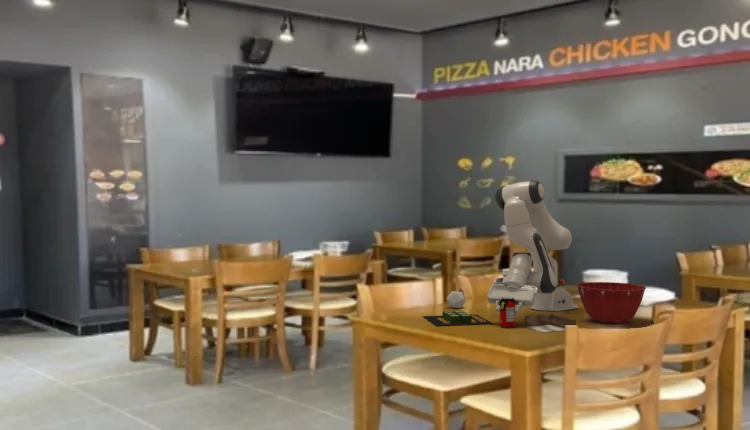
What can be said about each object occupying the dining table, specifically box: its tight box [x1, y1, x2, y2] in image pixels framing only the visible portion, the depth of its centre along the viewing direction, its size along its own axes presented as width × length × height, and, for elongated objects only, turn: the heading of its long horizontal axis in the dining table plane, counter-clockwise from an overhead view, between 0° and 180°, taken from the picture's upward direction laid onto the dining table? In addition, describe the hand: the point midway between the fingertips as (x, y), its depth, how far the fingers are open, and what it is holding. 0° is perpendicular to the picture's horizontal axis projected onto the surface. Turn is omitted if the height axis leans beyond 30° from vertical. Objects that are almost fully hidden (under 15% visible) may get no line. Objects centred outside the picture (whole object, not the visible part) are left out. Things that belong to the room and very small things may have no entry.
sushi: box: [422, 310, 494, 328], centre depth 342 cm, size 25×25×4 cm
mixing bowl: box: [576, 281, 647, 324], centre depth 338 cm, size 28×28×16 cm
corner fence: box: [524, 313, 577, 334], centre depth 320 cm, size 14×16×4 cm
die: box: [446, 290, 466, 309], centre depth 376 cm, size 8×9×10 cm
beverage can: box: [499, 297, 516, 328], centre depth 326 cm, size 6×6×12 cm
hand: (507, 311), depth 326 cm, fingers closed on beverage can, 6 cm apart
